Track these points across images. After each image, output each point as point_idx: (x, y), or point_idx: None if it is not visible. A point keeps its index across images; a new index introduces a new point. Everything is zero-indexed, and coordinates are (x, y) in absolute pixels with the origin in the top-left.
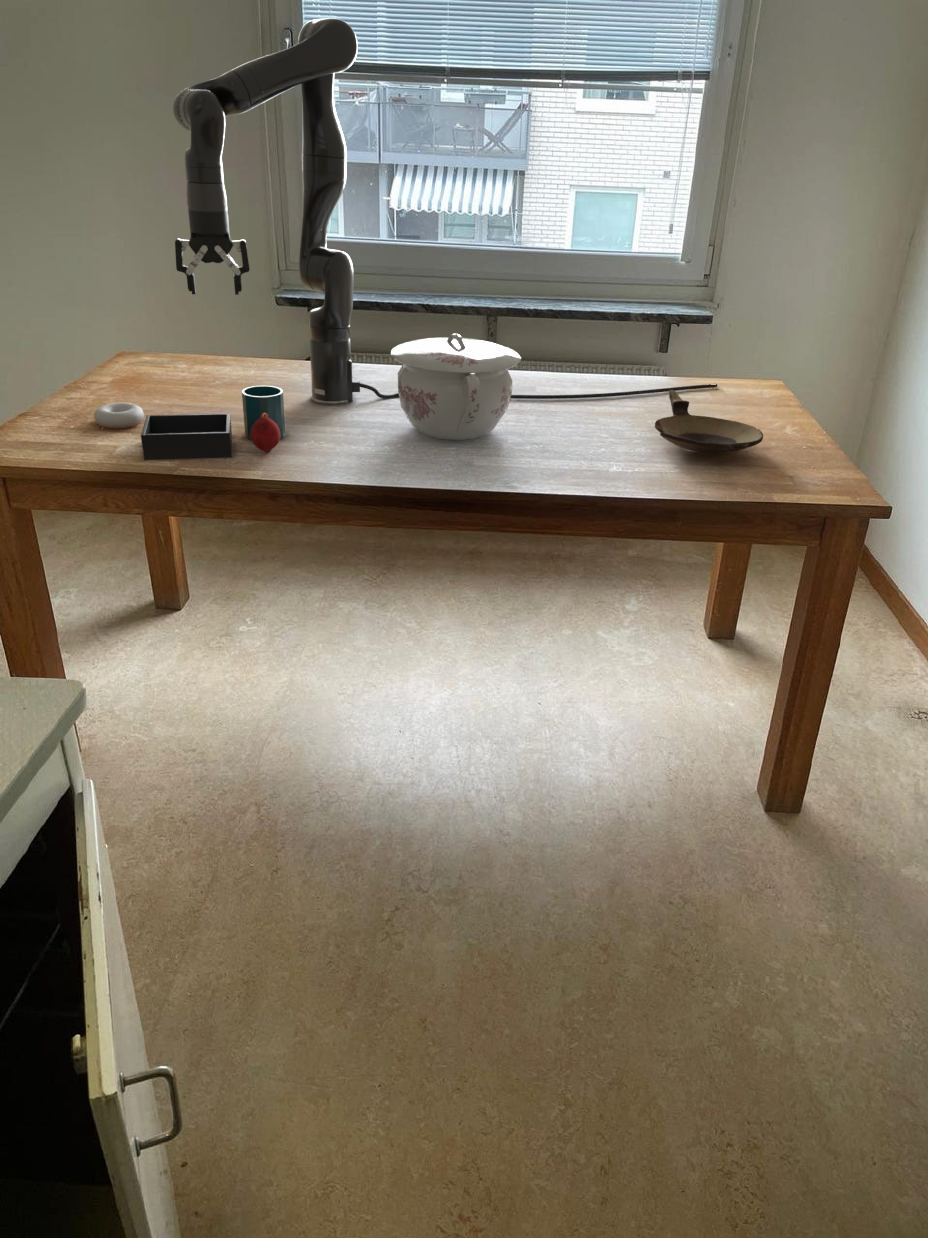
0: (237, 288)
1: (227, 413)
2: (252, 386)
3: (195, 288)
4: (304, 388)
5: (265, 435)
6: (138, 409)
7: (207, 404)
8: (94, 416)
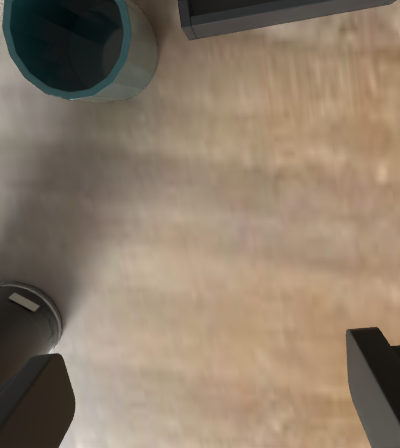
0: (17, 378)
1: (188, 25)
2: (107, 84)
3: (358, 411)
4: (92, 388)
5: None
6: None
7: (279, 278)
8: None
